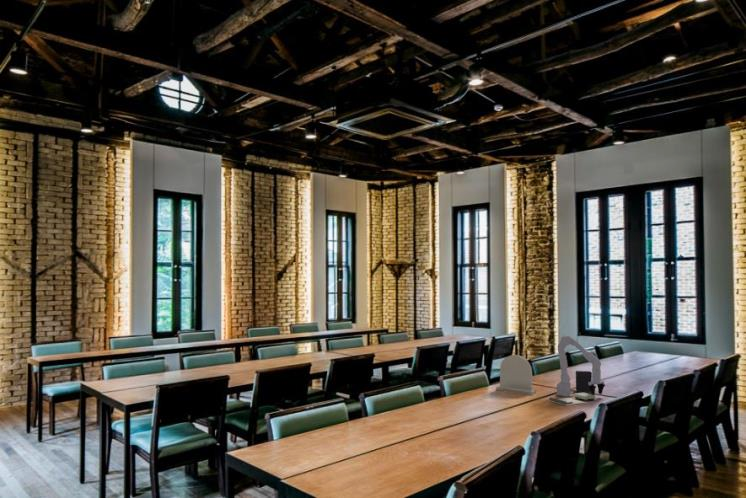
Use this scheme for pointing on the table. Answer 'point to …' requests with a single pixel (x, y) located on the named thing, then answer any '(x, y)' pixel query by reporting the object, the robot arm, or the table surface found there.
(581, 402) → the dock
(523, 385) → the award
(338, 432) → the table surface
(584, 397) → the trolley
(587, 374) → the calculator
